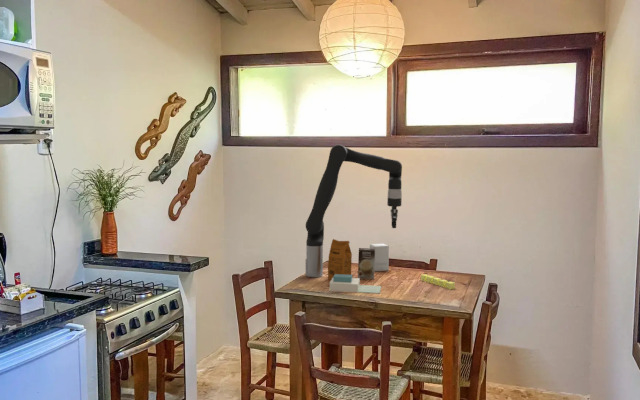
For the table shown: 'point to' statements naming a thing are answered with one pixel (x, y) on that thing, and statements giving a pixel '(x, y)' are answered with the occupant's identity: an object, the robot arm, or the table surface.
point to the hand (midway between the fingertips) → (393, 227)
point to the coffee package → (339, 259)
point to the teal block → (342, 278)
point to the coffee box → (366, 263)
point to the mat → (369, 289)
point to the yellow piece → (438, 281)
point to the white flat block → (345, 286)
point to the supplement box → (381, 257)
